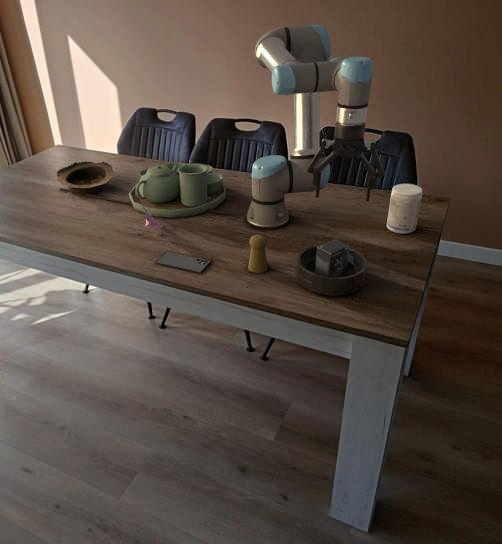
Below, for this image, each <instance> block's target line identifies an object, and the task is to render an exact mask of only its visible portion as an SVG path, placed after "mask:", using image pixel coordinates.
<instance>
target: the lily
mask: <svg viewBox="0 0 502 544" xmlns="http://www.w3.org/2000/svg"><path fill="white" fill-rule="evenodd" d="M142 207H143V206H142ZM143 209H144V211H145V213H142V214H141V216H142V218H144V219H145V225H144V227H142V230H141V232H140V234H142V233H143V231H144V229H145V228H146V227H151V228H152V230H153V231H156V232H157V233H158V234H159V235H160V236H162V234H161V231H160V230H159V229H163V226H162V225H161V224H160V222H159V221H158V220H157V219H155V218H154V216H152V215H151V214H149V213H148V211H147V210H146V209H145V208H144V207H143Z"/></svg>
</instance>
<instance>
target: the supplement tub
mask: <svg viewBox="0 0 502 544" xmlns="http://www.w3.org/2000/svg"><path fill="white" fill-rule="evenodd" d="M422 198H423V188H422V187H421V186H419V185H416V184H412V183H399V184H395V185H394V186H393V187H392V190H391V194H390V201H389V206H388V214H387V220H386V221H387V222H386V228H387V229H388V230H389V231H390V232H393V233H395V234H402V235H403V234H405V235H406V234H411V233H413V232H414V231H416V229H417V225H418V219H419V215H420V209H421V203H422Z"/></svg>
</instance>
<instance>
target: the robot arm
mask: <svg viewBox="0 0 502 544" xmlns="http://www.w3.org/2000/svg"><path fill="white" fill-rule="evenodd" d="M331 47H332V46H331V38H330V35H329V32H328V30H327V28H326V27H325V26H324V25H321V24H307V25H295V26H294V25H293V26H286V27H285V26H282V27H276V28H272V29H270V30H268V31H267V32H265V33H264V34H263V35H262V36H260V37H259V39H258V40H257V42H256V45H255V48H254V57H255V59H256V62H257V63H258V64H259V65H260V66H261V67H262V68H264V69H266V70H268V72H270V74H271V87H272V92H273V93H274V94H275V95H277V96H291V95H293V146H294V147H293V150H292V151H291V152H290V154H289V159H287V158H286V157H285V156H283V155H276V154H271V155H266V156H263V157H260V158H257V160H255V161H254V162H253V164H252V168H251V202H250V204H249V208H248V211H247V212H239V211H238V212H237V211H235V212H228V211H227V212H226V211H220V210H215V209H211V210H207V211H205V212H204V213H206V212H207V213H213V214H219V215H229V216H232V215H233V216H235V215H237V216H239V215H241V216H243V215H244V216H246V222H247V223H248V225H250V226H251V227H253V228H257V229H261V230H275V229H279V228H282V227H285V226H286V225H287V224H288V223H289V217H290V216H289V211H288V208H287V205H286V202H285V194H286V195H287V194H298V193H313V192H315V198H316V199H319V197H320V191H322V190H324V189H325V188H326V186H327V185H328V183H329V180H330V176H331V163H332V161H334V160H335V159H336V158H338V157H340V159H345V158H347V159H354V158H356V160H358V161H359V162H360V164H361V165H362V166H363V167H364V169H365V170H366V172H367V173H368V174H369V176H368V181H367V182H368V183H367V188H366V189H367V190H366V197H365V202H367V203H368V202H370V197H371V191H372V190H375V189H376V185H377V180H378V179H379V178H384V177H385V169H384V166H383V164H382V161H381V159H380V156H379V154H378V151H377V148H376V147H377V146H376V144H377V143H376V140H375V139H371V141H365V134H366V133H365V132H366V123H365V122H367V118H368V117H367V116H368V110H369V100H370V93H371V88H372V87H371V86H372V80H373V77H374V76H373V75H374V72H373V71H374V62H373V60H372V59H371V57H365V56H350V57H349V56H348V57H346V58H344V57H334V58H332V59H330V58H331V52H332V50H331V49H332V48H331ZM326 92H327V93H328V92H337V103H336V115H335V121H336V123H335V125H334V136H333V139H332V140H330V139H327V138H326V137H323V138H322V140H320V138H321V136H320V135H321V134H320V133H321V132H320V129H321V128H320V127H321V125H320V119H321V117H320V112H321V111H320V93H326ZM320 141H321V142H320ZM330 146H331V147H332V149H333V150H332V152H331V153H330V154H329V155H328V156H325V150H326V149H328V148H329V147H330ZM364 148H366V149H367V151H370V155H371V158H372V160H373V163H374V166H375V167H376V170H377V171H376V170H375V168H374V167H373V165H372V164H371V163H370V161H369V160H368V159H367V157H366V156H365V155H364V153H363V152H362V151H363V149H364ZM59 190H60V191H64V192H70V193H72V192H71V191H70V190H69V188H62V187H60V188H59ZM83 196H89V197H92V198H97V199H101V200H106V201H110V202H114V203H119V204H124V205H129V206H133V204H132V202H128V201H123V200H117V199H113V198H108V197H104V196H100V195H96V194H88V193H86V194H84V195H83Z"/></svg>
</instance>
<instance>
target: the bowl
mask: <svg viewBox="0 0 502 544" xmlns="http://www.w3.org/2000/svg"><path fill="white" fill-rule="evenodd" d="M321 245H322V244H316V245H312V246H309V247H306V248H305V249H302V250H301V251H300V252H299V253H298V255H297V258H296V269H295V277H296V280H297V283H298V284H300V286H302V287H303V288H304V289H306V290H308V291H309V292H312V293H316V294H317V295H318V294H319V295H322V296H331V297H332V296H333V297H336V296H337V297H339V296H346V295H350V294H355V293H356V292H358V291H359V290H361V289H362V288H363V286H365V282H366V276H367V269H368V260H367V259H366V256H364V255H363V253H361V252H359V251H358V250H355V249H353V248H351V247H350V248H349V255H348V263H347V271H346V276H345V277H327V276H321V275H318V274H314V272H315V263H316V253H317V247H318V246H321Z"/></svg>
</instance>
